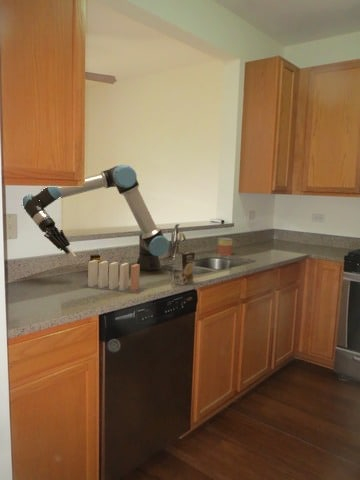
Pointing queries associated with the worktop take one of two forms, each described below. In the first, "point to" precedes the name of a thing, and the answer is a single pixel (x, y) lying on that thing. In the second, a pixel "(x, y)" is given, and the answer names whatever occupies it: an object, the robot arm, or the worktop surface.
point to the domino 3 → (113, 275)
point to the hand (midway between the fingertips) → (73, 257)
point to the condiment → (95, 258)
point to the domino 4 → (124, 276)
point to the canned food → (224, 246)
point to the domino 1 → (92, 273)
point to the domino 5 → (134, 278)
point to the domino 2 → (103, 274)
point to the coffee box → (183, 268)
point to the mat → (116, 289)
